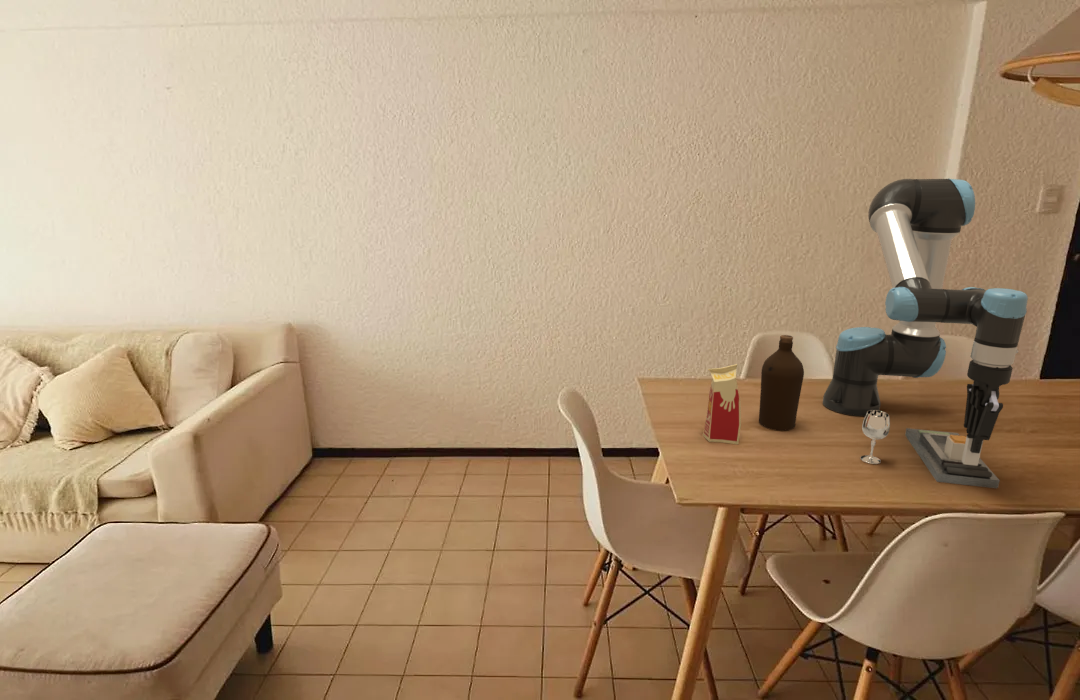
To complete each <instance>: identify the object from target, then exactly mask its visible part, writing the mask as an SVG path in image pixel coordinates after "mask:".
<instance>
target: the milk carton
mask: <svg viewBox="0 0 1080 700" xmlns="http://www.w3.org/2000/svg"><path fill="white" fill-rule="evenodd" d="M737 368H738V363H735V364H731V365H728V366H727V365H726V366H724V367H718V368H717V367H716V368H708V369H707V370H708V371H709V372H710V375H711V377H712V379H711V384H710V388H709V394H708V400H707V401H708V402H707V409H706V418H705V422H704V428H703V432H702V433H703V434H702V436H703V437H704V438H705V440H707V441H708V442H709V443H724V444H731V445H732V444H733V445H739V441H740V433H741V426H742V415H741V411H742V410H741V395H740V391H739V387H738V381H737Z"/></svg>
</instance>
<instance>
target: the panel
mask: <svg viewBox="0 0 1080 700" xmlns="http://www.w3.org/2000/svg"><path fill="white" fill-rule="evenodd" d="M904 434H905V437H906V439H907V441H908V442H909V443H910V445H911V446H912V447H913V449H914V451H915V452H916V454H917V455H918V456H919V457H920V459H921V460H922V462H923V464H924V465H925V466H926V468H927V469H928V471H929V472H930V475H932V477H933V478H934V480H935V481H936V482H938V483H945V484H947V483H948V484H954V485H964V486H972V487H981V488H990V489H991V488H992V489H997V488H998V489H999V485H1000V481H1001V480H1000V479H999V478H998V477H997V475H996V474H995V473H994V472H993V471H992V470H991V469H990V468H989V466H988V465H987V464H986V463H985V462H984V461H983V460H982V458H981V457H980V458H979V462H978V466H981V467H986V468H988V471H989V472H991V473H992V477H990V478H986V477H977V476H968V475H959V474H950V473H947V471H946V469H944V468H943V464H944V463H953V464H962V465H966V464H963V463H962V461H961V460H952V459H948V458H947V457H946V455H945V454H944V450H945V445H946V440H947V436H950V435H958V436H961V435H960V434H959V433H958V432H951V431H943V430H942V431H941V430H930V429H929V430H928V429H919V428H910V427H906V429H905V433H904ZM972 466H975V465H972Z"/></svg>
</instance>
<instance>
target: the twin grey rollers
mask: <svg viewBox="0 0 1080 700" xmlns="http://www.w3.org/2000/svg"><path fill="white" fill-rule="evenodd" d="M943 468H944V469H946V471H947V473H950V474H959V475H968V476H977V477H986V478H990V477H992V473H991V472H989V471H988V468H989V467H988V468H986V467H981V466H972V465H962V464H953V463H944V464H943Z"/></svg>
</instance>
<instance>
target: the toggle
mask: <svg viewBox="0 0 1080 700" xmlns="http://www.w3.org/2000/svg"><path fill="white" fill-rule="evenodd" d="M966 438H967V435H966V436H965V435H960V436H958V435H950V436H947V440H946V445H945V450H944V454H945V455H946V457H947V458H948V459H952V460H961V461H962V456H963V452H964V447H965V442H966Z"/></svg>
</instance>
